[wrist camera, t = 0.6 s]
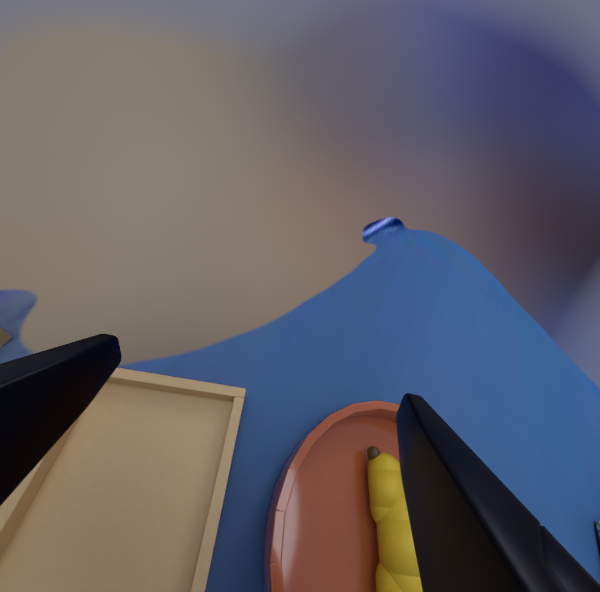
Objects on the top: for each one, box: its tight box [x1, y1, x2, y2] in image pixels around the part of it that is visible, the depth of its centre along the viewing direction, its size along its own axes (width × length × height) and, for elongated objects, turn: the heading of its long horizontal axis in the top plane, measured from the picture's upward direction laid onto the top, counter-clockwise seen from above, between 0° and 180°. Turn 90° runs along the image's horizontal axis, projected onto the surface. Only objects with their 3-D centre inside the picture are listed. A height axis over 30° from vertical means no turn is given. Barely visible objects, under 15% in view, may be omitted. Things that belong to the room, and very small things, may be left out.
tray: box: [0, 368, 246, 592], centre depth 16 cm, size 18×12×2 cm
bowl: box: [263, 401, 400, 592], centre depth 19 cm, size 18×18×3 cm
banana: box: [367, 446, 423, 592], centre depth 18 cm, size 12×4×3 cm, turn 175°
